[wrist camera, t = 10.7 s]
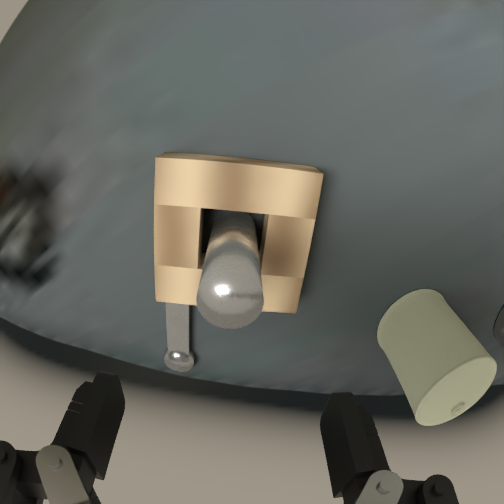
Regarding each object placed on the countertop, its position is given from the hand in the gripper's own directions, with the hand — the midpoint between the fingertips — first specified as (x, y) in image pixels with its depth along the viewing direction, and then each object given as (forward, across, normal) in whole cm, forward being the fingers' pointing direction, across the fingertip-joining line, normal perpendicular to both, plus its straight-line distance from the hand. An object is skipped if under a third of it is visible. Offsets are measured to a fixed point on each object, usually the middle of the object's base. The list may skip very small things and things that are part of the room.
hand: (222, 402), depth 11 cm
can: (+18, -21, +9) cm, 29 cm away
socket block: (+18, 0, 0) cm, 18 cm away
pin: (+18, 0, 0) cm, 18 cm away
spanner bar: (+18, +5, +10) cm, 21 cm away
